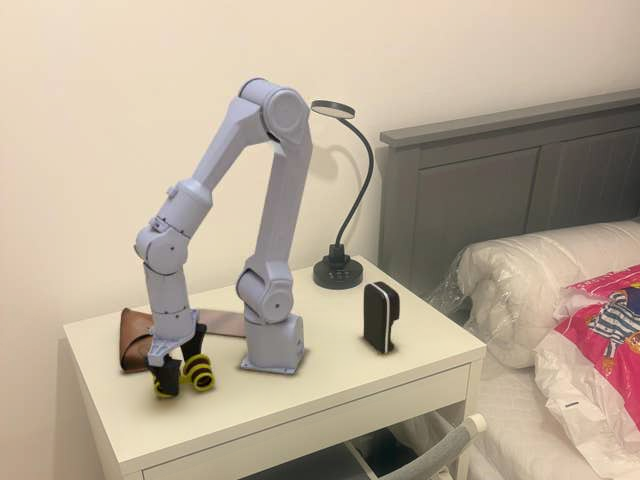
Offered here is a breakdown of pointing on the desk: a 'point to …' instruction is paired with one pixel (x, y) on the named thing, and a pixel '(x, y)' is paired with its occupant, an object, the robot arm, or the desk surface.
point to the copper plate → (223, 323)
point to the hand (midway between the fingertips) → (182, 379)
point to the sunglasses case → (134, 340)
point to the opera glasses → (192, 375)
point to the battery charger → (380, 315)
